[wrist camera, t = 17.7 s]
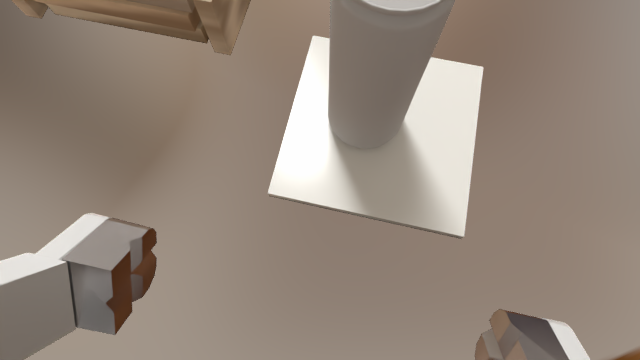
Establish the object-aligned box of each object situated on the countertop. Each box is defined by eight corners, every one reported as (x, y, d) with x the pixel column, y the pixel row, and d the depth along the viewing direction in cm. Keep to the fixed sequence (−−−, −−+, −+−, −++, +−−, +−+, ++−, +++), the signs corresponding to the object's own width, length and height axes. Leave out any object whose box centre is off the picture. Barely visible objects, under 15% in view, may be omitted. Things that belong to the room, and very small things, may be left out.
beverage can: (318, 98, 26) (313, -71, 14) (385, 78, 26) (433, -101, 15) (341, 162, 24) (357, 30, 13) (413, 140, 25) (489, -7, 13)
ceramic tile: (460, 238, 23) (464, 236, 23) (269, 196, 24) (267, 193, 24) (479, 72, 27) (483, 67, 26) (313, 41, 28) (312, 35, 27)
